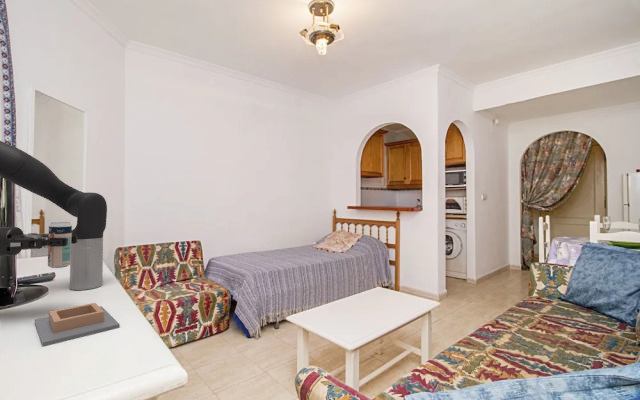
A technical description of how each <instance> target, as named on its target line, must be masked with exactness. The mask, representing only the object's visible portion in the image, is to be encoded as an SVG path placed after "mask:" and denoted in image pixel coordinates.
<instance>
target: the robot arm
mask: <svg viewBox="0 0 640 400" xmlns="http://www.w3.org/2000/svg"><path fill="white" fill-rule="evenodd" d="M0 177H1V178H2V179H5V180H7V181H9V182H10V183H12V184H15V185H16V186H18V187H20V188H22V189H25V190H27V191H28V192H31V193H33V194H35V195H37V196H40V197H42V198H44V199H46V200H47V201H50V202H51V203H52V204H54V205H56V207H59V208H61V210H64V211H65V212H66V213H68V214H69V215H71V216H72V217H75V218H77V219H76V225H75V226H74V228H72V242H71V264H70V265H69V290H71V291H81V290H82V291H84V290H91V289H97V288H99V287H102V286H103V276H104V275H103V272H104V271H103V270H104V269H103V267H104V265H103V264H104V261H103V260H104V232H105V230H106V228H107V217H108V216H107V215H108V204H107V201H106V198H105V197H104V196H103V195H102V194H100V193H98V192H85V191H84V192H83V191H81V190H79V189H76V188H74V187H72V186H70V185H69V184H67V183H65V182H64V181H63V180H61V179H60V178H59V177H58V176H57V175H56V174H55V173H54V171H52V169H50V168H49V167H48V166H47V165H46V164H45V163H43V162H42V161H40V160H39V159H37V158H35V156H32V155H31V154H29V153H28V152H26V151H23V150H22V149H20V148H18V147H15V145H14V146H13V145H11V144H9V143H6V142H4V141H2V140H0ZM67 245H68V239H67V238H50V239H49V232H48V233H38V232H37V233H36V232H31V233H30V232H28V233H24V231H23V230H22V229H21V228H20V227H17V226H0V257H14V256H17V255H19V254H20V253H21V252H22V250H23V251H24V250H25V251H27V250H39V249H43V248H45V249H48V247H55V246H67Z"/></svg>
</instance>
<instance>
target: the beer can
mask: <svg viewBox="0 0 640 400" xmlns="http://www.w3.org/2000/svg"><path fill="white" fill-rule="evenodd" d="M72 230H73V225H72V224H71V222H70V221H54V222H52V221H51V222H50V224H49V225H48V233H49V239H50V238H67V239H68V245H67V246H55V247H47V250H48V252H47V266H48V267H49V268H51V269H61V268H62V269H63V268H67V267H69V266H70V264H71V242H72Z"/></svg>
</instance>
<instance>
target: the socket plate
mask: <svg viewBox="0 0 640 400" xmlns="http://www.w3.org/2000/svg"><path fill="white" fill-rule="evenodd" d="M34 325H35V328H36V330H37V334H38V336H39V339H40V343H41V346H42V347H45V346H50V345H54V344H58V343H62V342H66V341H70V340H74V339H78V338H81V337H82V338H83V337H86V336H90V335H95V334H99V333H103V332H107V331H110V330H114V329H118V328H120V322H118V321H117V320H116V319H115V318H114V317H113V316H112V315H111V314H110V313H109V312H108V311H107V310H106V309H105V308H104V307H103V306H101V305H98V304H97V303H96V302H92V303H86V304H81V305H76V306H72V307H67V308H62V309H61V308H60V309H56V310H51V311H48V316H45V317H41V318H36V319H34Z"/></svg>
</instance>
